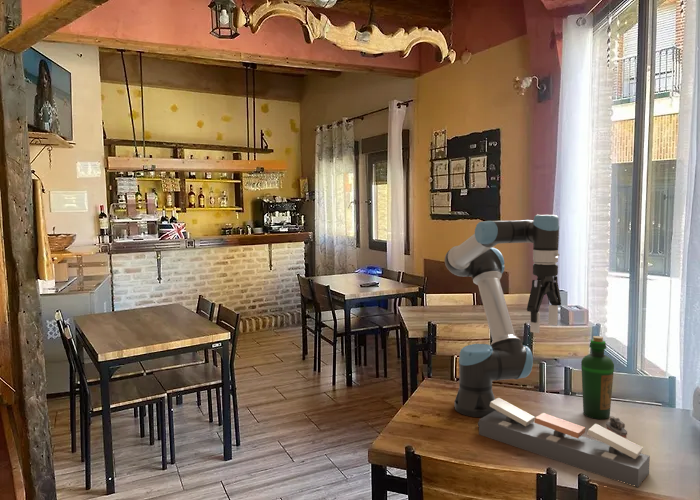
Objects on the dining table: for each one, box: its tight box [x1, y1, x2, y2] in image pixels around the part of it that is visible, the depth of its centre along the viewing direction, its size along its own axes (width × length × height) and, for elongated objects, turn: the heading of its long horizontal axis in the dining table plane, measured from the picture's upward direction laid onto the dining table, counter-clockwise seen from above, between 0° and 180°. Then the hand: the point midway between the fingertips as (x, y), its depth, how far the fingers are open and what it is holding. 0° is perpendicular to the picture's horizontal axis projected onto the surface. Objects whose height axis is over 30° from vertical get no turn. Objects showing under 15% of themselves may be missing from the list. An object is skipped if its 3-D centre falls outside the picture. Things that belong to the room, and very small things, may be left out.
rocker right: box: [586, 423, 644, 459], centre depth 144 cm, size 13×5×2 cm, turn 45°
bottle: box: [580, 335, 615, 420], centre depth 181 cm, size 11×11×28 cm
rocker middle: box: [534, 412, 586, 438], centre depth 155 cm, size 13×5×2 cm, turn 45°
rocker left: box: [490, 397, 536, 426], centre depth 166 cm, size 13×5×2 cm, turn 45°
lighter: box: [605, 416, 628, 439], centre depth 155 cm, size 8×3×10 cm, turn 5°
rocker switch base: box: [477, 411, 651, 488], centre depth 155 cm, size 50×10×7 cm, turn 45°
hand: (544, 328), depth 166 cm, fingers open, 13 cm apart
